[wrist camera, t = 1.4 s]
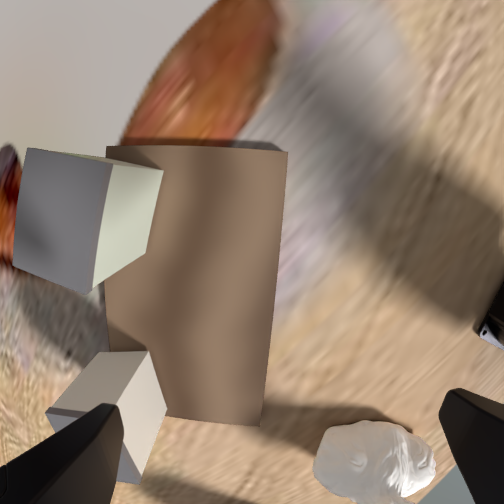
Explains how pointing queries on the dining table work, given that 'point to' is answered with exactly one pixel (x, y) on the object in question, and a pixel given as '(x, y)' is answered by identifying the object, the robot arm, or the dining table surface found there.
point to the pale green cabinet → (82, 216)
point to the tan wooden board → (204, 278)
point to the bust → (373, 462)
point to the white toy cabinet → (118, 404)
